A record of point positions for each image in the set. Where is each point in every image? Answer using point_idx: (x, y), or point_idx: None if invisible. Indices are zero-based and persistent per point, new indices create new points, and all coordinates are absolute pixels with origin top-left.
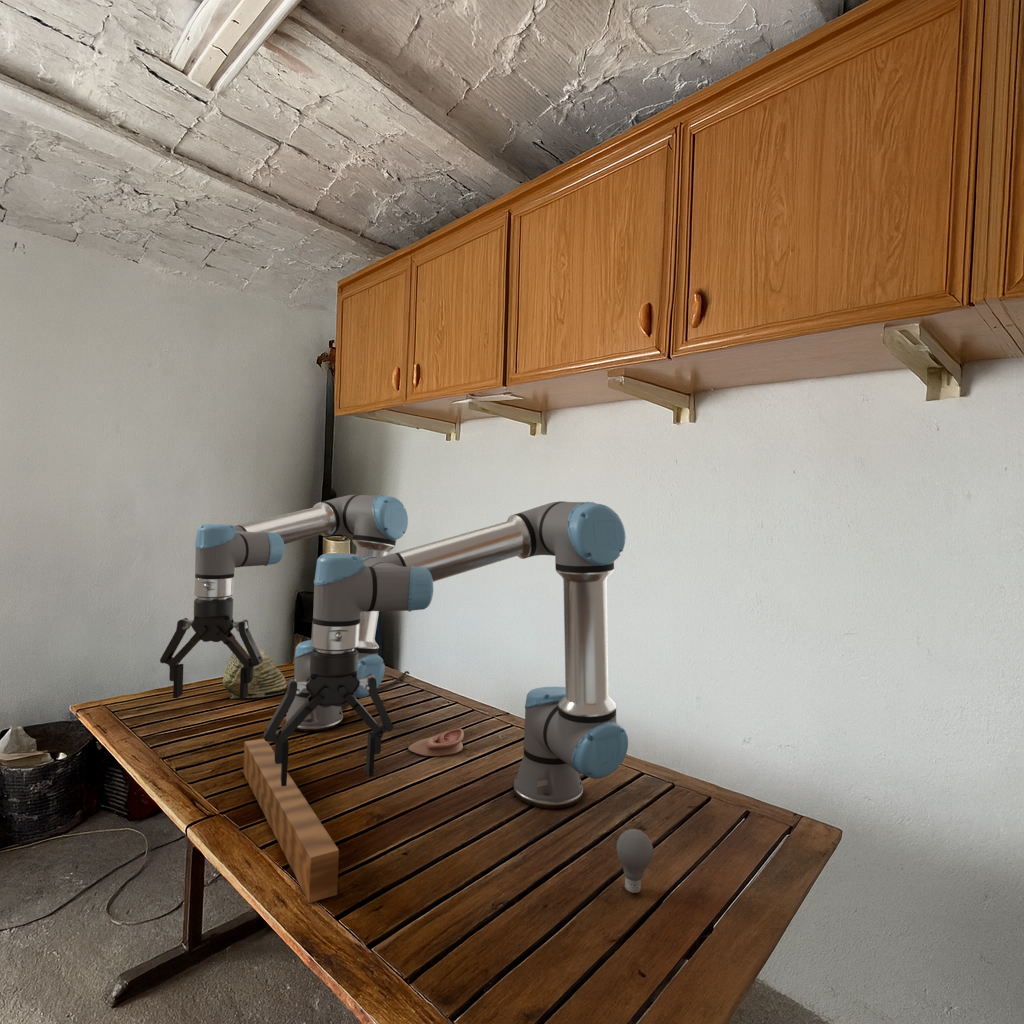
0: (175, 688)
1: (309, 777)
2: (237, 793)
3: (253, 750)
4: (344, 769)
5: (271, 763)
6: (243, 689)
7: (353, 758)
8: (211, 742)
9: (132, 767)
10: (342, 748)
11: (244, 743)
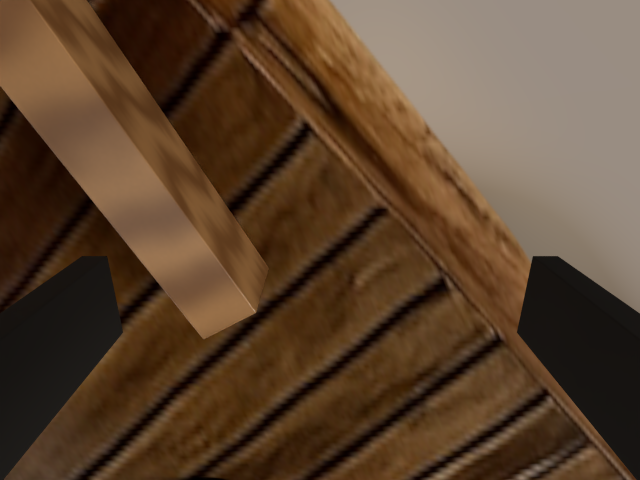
0: (585, 288)
1: (90, 251)
2: (234, 154)
3: (194, 246)
4: None
5: (81, 141)
6: (35, 290)
7: None
8: (414, 423)
9: None
10: (86, 405)
11: (255, 308)
